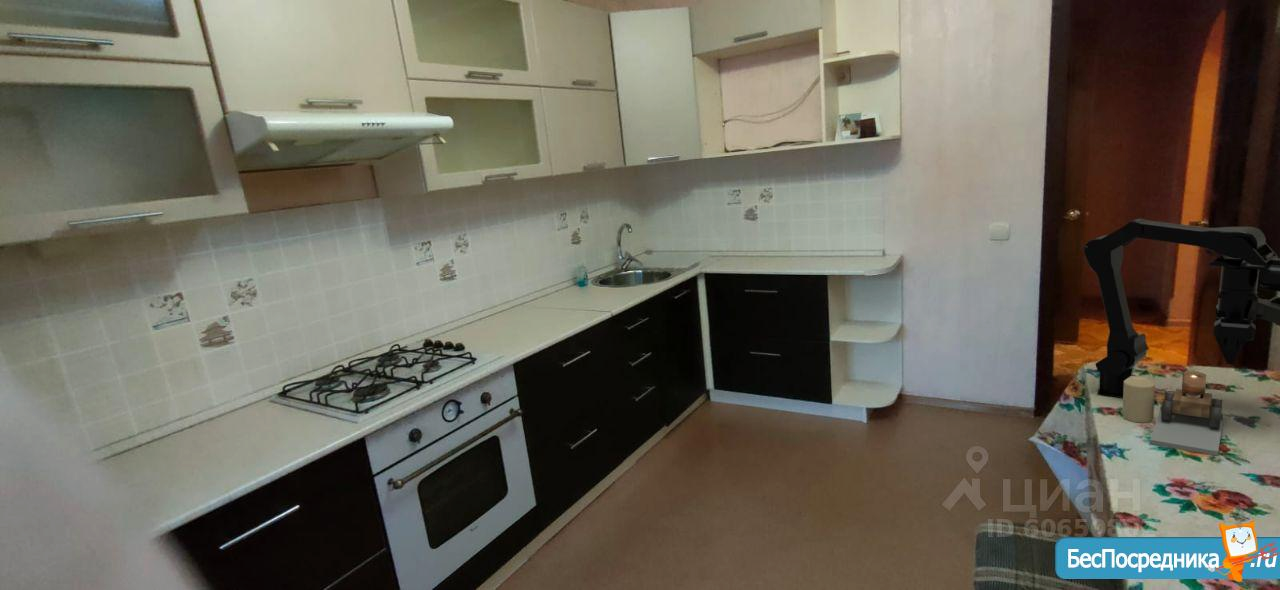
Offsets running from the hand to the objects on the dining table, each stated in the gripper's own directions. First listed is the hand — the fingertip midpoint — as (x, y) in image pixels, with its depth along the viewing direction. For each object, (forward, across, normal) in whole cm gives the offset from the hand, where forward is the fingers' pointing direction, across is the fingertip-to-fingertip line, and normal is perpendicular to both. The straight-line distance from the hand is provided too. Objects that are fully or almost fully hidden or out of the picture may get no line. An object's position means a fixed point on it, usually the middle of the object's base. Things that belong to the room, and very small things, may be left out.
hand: (1230, 357), depth 136 cm
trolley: (+14, -8, +5) cm, 17 cm away
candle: (+14, -9, +14) cm, 22 cm away
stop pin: (+12, -6, +5) cm, 14 cm away
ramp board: (+14, -13, +6) cm, 20 cm away
